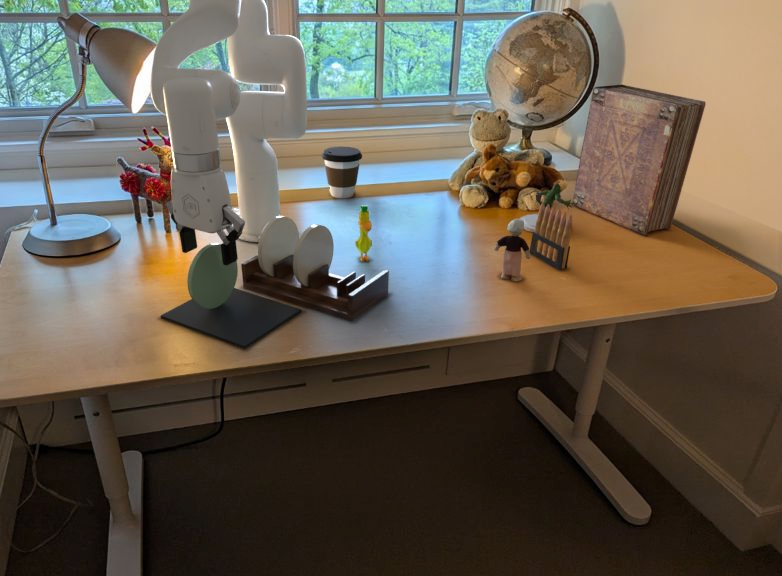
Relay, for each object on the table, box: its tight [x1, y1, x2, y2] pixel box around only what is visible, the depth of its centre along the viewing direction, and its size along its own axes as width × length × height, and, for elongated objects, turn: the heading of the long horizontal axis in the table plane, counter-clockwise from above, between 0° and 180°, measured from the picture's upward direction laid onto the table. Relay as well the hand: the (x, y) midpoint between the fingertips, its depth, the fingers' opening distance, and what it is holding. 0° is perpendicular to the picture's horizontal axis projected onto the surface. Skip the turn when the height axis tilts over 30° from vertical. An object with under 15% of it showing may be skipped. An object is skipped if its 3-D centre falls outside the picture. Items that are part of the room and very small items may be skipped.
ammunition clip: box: [529, 201, 573, 271], centre depth 138 cm, size 11×2×12 cm, turn 26°
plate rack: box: [240, 254, 390, 323], centre depth 126 cm, size 26×13×5 cm, turn 58°
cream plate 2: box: [293, 224, 335, 287], centre depth 123 cm, size 1×12×12 cm, turn 149°
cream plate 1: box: [257, 215, 300, 277], centre depth 127 cm, size 1×12×12 cm, turn 149°
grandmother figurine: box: [493, 218, 532, 283], centre depth 130 cm, size 8×4×13 cm, turn 71°
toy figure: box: [354, 204, 373, 263], centre depth 137 cm, size 7×4×12 cm, turn 13°
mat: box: [160, 287, 303, 350], centre depth 118 cm, size 20×16×1 cm
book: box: [571, 84, 707, 237], centre depth 158 cm, size 25×9×30 cm, turn 28°
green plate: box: [186, 242, 239, 309], centre depth 117 cm, size 1×12×12 cm, turn 149°
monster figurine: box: [519, 182, 573, 233], centre depth 157 cm, size 12×12×10 cm
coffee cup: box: [321, 146, 363, 199], centre depth 175 cm, size 11×11×12 cm
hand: (209, 256), depth 114 cm, fingers open, 9 cm apart
